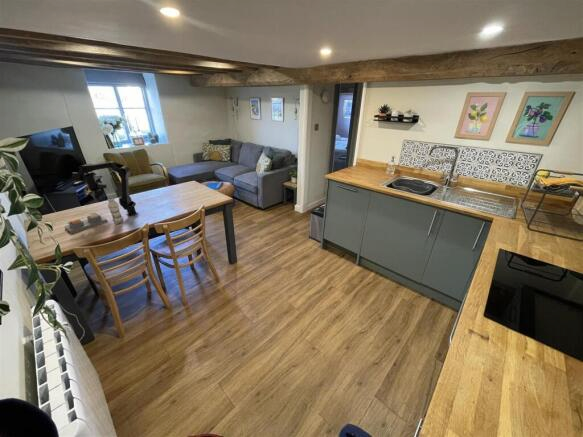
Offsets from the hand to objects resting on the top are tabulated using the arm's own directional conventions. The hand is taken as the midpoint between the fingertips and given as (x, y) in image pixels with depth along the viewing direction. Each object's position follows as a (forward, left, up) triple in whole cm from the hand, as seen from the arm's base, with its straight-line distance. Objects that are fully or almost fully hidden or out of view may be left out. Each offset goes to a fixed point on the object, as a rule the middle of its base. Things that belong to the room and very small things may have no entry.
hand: (98, 200), depth 183 cm
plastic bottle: (-23, -1, -13) cm, 27 cm away
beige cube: (-8, +9, -9) cm, 15 cm away
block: (-8, +14, -13) cm, 21 cm away
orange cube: (-8, +20, -9) cm, 23 cm away
